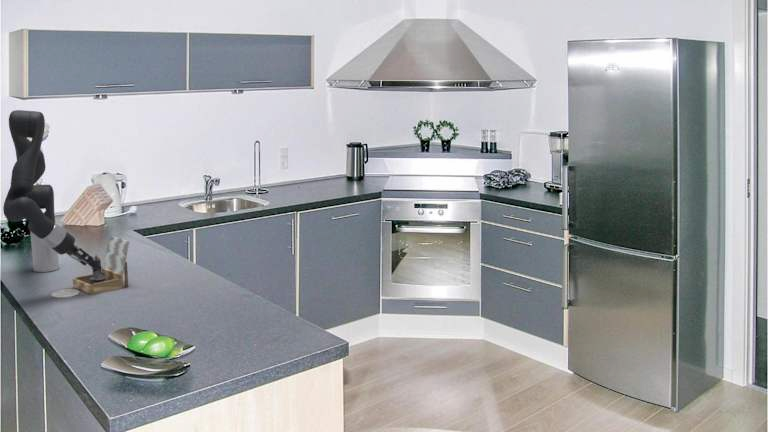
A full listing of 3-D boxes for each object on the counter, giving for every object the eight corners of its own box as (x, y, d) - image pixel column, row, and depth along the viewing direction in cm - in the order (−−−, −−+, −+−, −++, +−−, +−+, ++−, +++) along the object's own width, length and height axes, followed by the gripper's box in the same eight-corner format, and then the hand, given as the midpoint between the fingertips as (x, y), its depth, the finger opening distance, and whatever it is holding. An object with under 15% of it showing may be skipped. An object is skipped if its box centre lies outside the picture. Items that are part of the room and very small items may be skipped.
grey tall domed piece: (89, 290, 291) (86, 257, 289) (90, 286, 296) (87, 253, 294) (106, 289, 292) (104, 256, 290) (107, 284, 298) (105, 252, 296)
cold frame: (73, 287, 295) (69, 241, 292) (113, 279, 306) (110, 235, 303) (91, 294, 285) (87, 247, 282) (132, 286, 296) (129, 240, 293)
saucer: (47, 294, 286) (47, 292, 286) (72, 289, 292) (72, 287, 292) (58, 299, 280) (58, 297, 280) (83, 294, 286) (83, 292, 286)
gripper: (73, 232, 278) (107, 259, 288) (55, 226, 288) (89, 253, 298) (58, 250, 275) (94, 277, 285) (41, 244, 285) (76, 270, 295)
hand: (91, 265), depth 292 cm, fingers open, 8 cm apart
